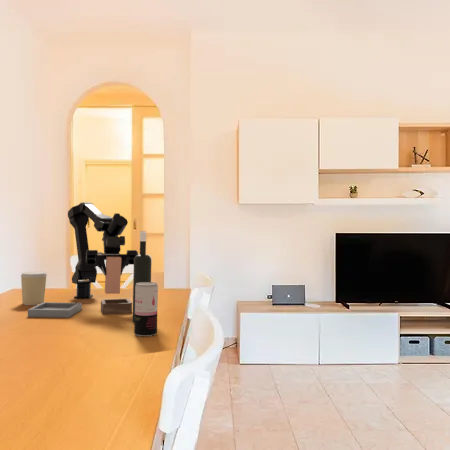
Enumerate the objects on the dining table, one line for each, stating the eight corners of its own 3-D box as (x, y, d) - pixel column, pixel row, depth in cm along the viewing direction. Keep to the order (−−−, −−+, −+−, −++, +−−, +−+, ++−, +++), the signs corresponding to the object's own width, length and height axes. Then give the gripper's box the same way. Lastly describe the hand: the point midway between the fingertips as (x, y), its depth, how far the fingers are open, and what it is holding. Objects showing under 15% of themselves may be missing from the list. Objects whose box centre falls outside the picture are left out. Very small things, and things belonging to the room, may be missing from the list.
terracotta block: (104, 291, 169) (106, 256, 168) (118, 291, 170) (120, 256, 170) (105, 293, 164) (107, 257, 164) (119, 293, 165) (121, 258, 165)
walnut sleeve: (100, 308, 171) (100, 299, 171) (128, 307, 174) (128, 298, 174) (102, 314, 161) (102, 304, 161) (132, 312, 164) (132, 303, 164)
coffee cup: (50, 301, 183) (51, 272, 183) (38, 306, 173) (39, 274, 173) (28, 300, 184) (28, 271, 184) (15, 305, 174) (16, 273, 174)
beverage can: (151, 330, 138) (152, 281, 138) (160, 335, 133) (161, 284, 133) (131, 333, 135) (132, 282, 135) (139, 338, 129) (140, 285, 129)
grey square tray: (43, 309, 168) (43, 302, 168) (81, 309, 168) (81, 302, 168) (27, 316, 154) (27, 309, 154) (69, 317, 154) (69, 310, 154)
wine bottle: (129, 321, 150) (130, 230, 150) (143, 318, 155) (144, 230, 155) (139, 324, 147) (141, 231, 146) (153, 321, 151) (155, 231, 151)
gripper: (86, 228, 167) (87, 260, 157) (137, 229, 174) (141, 260, 163) (85, 248, 175) (86, 280, 165) (134, 248, 181) (138, 279, 171)
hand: (113, 274), depth 166 cm, fingers closed on terracotta block, 5 cm apart
